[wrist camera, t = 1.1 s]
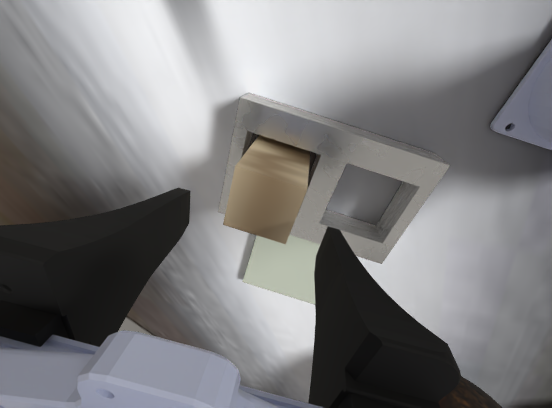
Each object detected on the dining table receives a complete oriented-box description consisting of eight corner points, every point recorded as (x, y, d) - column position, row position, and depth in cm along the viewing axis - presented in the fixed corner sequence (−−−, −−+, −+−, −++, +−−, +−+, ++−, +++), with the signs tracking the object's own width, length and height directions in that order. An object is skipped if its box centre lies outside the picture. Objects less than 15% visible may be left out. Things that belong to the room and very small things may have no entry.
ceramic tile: (355, 247, 23) (356, 253, 23) (323, 301, 27) (323, 307, 27) (262, 218, 23) (260, 222, 22) (244, 276, 27) (242, 281, 27)
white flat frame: (434, 153, 18) (450, 165, 16) (375, 244, 23) (381, 263, 21) (249, 92, 18) (239, 97, 16) (227, 197, 23) (218, 212, 20)
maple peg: (310, 148, 19) (307, 189, 13) (294, 192, 21) (285, 244, 15) (261, 132, 19) (235, 166, 13) (249, 178, 21) (222, 224, 15)
